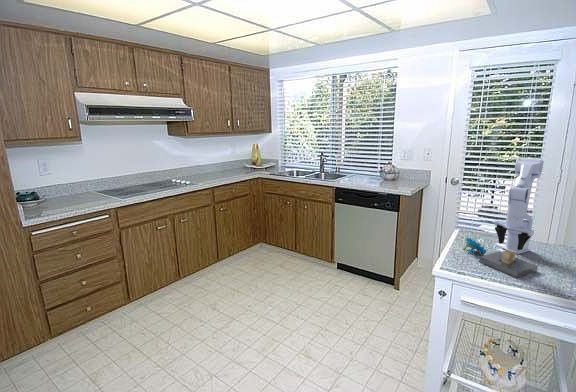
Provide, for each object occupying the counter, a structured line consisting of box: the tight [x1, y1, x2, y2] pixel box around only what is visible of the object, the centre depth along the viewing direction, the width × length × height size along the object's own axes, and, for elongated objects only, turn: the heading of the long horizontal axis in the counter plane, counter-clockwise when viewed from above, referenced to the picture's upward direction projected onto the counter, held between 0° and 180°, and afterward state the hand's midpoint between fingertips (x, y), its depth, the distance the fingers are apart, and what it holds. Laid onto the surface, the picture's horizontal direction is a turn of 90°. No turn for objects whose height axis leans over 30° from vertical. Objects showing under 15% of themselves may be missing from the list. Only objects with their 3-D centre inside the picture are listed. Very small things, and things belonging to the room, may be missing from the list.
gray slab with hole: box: [478, 251, 539, 279], centre depth 133 cm, size 13×16×2 cm
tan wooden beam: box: [501, 250, 516, 264], centre depth 133 cm, size 4×3×7 cm, turn 113°
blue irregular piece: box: [462, 237, 487, 255], centre depth 147 cm, size 11×6×10 cm
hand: (510, 246), depth 132 cm, fingers open, 7 cm apart
